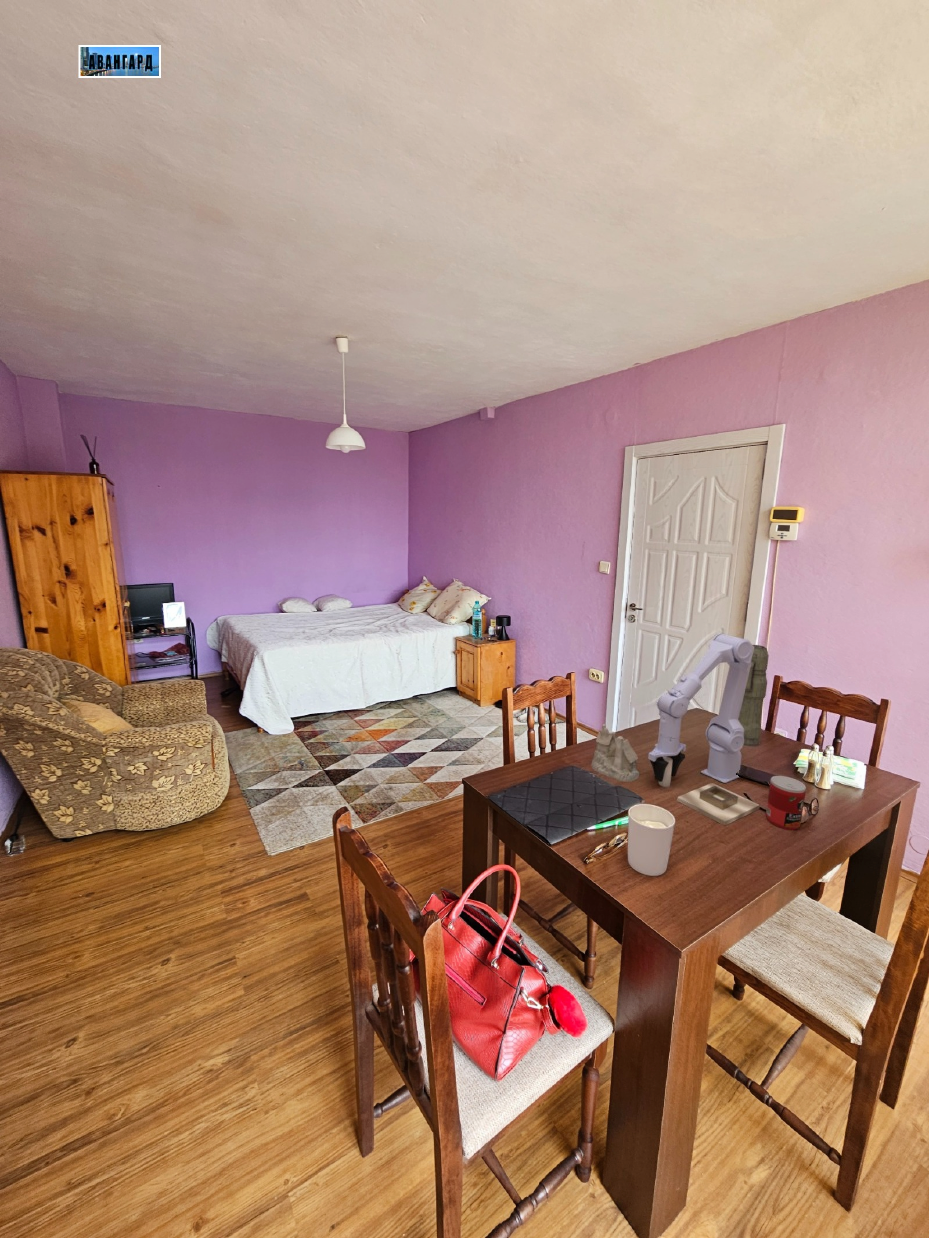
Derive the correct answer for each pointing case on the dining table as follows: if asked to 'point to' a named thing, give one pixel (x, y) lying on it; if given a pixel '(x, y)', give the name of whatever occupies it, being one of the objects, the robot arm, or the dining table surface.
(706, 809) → the candle stand
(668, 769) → the ivory candle
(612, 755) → the ceramic cottage
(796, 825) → the canned food
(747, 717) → the green stone statue
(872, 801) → the dining table surface
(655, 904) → the dining table surface
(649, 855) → the candle holder
